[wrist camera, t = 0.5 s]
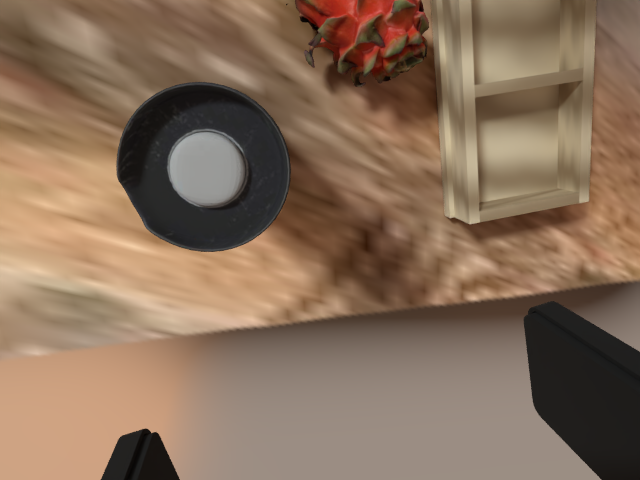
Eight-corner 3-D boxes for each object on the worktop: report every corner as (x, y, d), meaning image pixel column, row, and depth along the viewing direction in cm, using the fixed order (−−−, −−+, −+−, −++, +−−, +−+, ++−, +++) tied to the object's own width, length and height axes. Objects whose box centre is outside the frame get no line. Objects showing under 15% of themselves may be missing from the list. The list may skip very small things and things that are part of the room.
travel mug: (287, 123, 37) (319, 122, 18) (257, 201, 39) (258, 276, 20) (203, 88, 35) (143, 45, 16) (176, 171, 37) (91, 222, 18)
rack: (417, -206, 32) (439, -253, 28) (570, -219, 33) (613, -265, 29) (444, 215, 42) (464, 225, 38) (562, 193, 43) (593, 200, 39)
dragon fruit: (406, 79, 39) (291, 19, 38) (460, -14, 33) (325, -88, 32) (396, 123, 33) (260, 55, 32) (458, 21, 27) (293, -69, 26)
